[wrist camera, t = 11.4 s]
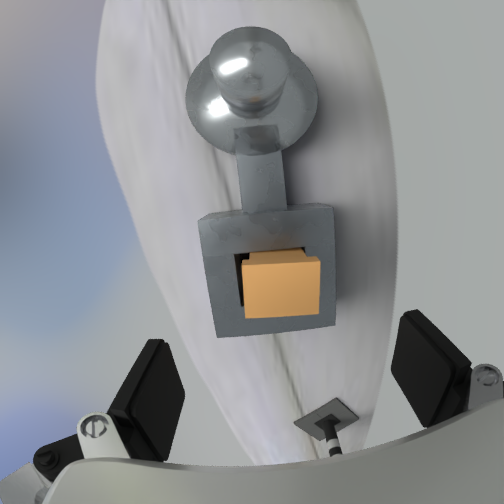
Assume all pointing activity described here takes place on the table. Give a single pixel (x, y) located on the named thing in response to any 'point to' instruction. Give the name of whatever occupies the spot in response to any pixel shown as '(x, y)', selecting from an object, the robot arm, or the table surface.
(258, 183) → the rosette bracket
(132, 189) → the table surface
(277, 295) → the tan flared block
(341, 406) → the miniature traffic light
